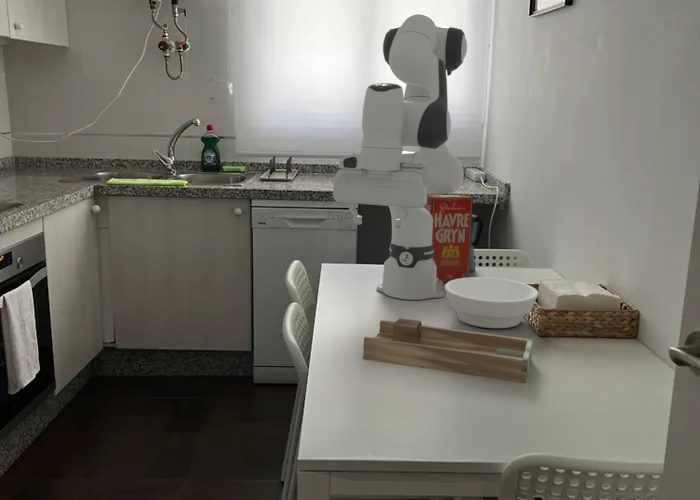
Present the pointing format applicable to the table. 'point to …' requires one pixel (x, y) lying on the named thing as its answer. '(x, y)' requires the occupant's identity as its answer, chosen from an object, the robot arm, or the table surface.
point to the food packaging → (451, 234)
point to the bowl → (490, 301)
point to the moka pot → (473, 232)
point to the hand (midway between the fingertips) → (378, 225)
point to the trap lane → (454, 352)
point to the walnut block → (407, 330)
